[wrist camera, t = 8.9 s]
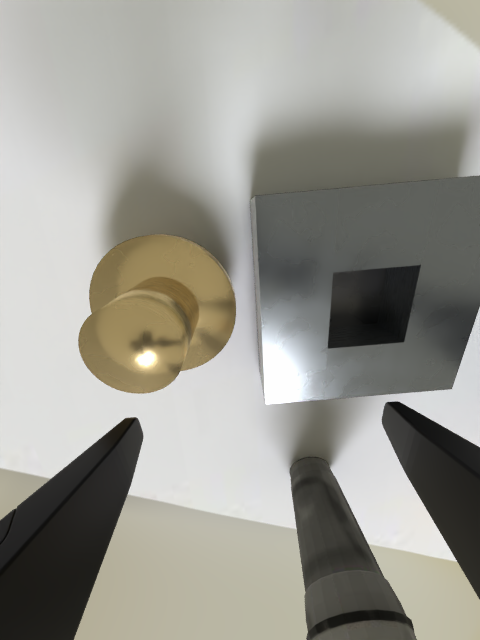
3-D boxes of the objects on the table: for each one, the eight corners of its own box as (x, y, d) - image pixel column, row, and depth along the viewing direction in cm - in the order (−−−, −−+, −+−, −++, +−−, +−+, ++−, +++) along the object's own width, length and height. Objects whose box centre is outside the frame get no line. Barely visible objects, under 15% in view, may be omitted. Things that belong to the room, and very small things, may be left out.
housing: (457, 183, 16) (525, 171, 12) (413, 359, 21) (451, 388, 18) (250, 201, 16) (254, 195, 12) (259, 372, 21) (265, 404, 18)
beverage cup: (274, 453, 26) (380, 1055, 7) (341, 443, 25) (634, 1047, 7) (281, 494, 28) (369, 1001, 10) (341, 486, 28) (549, 994, 10)
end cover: (229, 226, 16) (225, 231, 8) (240, 340, 20) (244, 422, 12) (103, 238, 17) (-26, 254, 8) (135, 348, 20) (67, 436, 12)
